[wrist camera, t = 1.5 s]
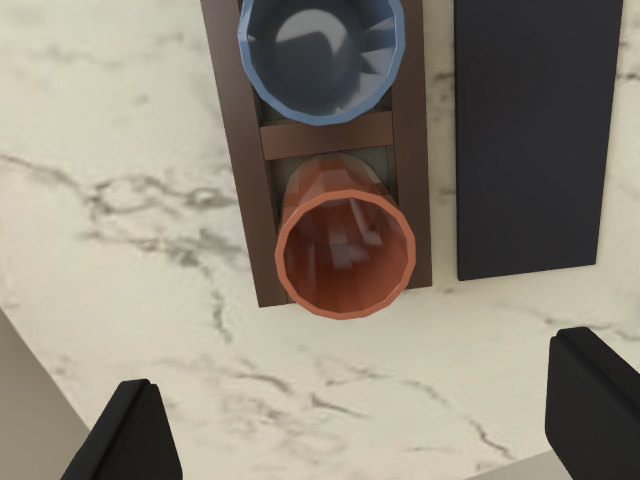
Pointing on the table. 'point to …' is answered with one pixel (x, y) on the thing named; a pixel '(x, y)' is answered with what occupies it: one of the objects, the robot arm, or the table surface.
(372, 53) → the cup
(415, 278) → the holder
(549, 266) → the placemat
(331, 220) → the cup
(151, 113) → the table surface
